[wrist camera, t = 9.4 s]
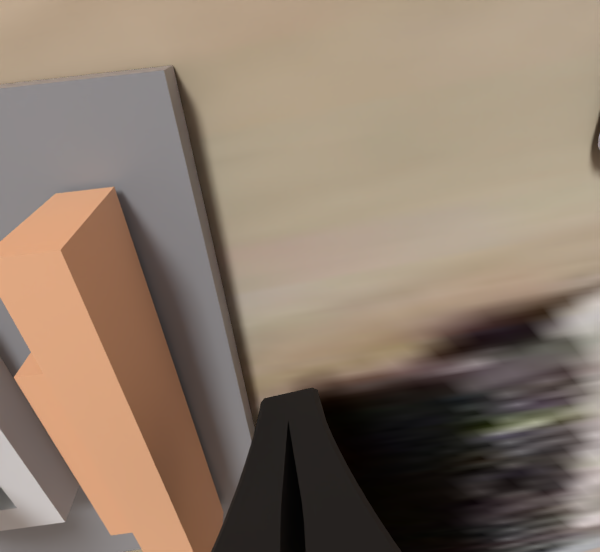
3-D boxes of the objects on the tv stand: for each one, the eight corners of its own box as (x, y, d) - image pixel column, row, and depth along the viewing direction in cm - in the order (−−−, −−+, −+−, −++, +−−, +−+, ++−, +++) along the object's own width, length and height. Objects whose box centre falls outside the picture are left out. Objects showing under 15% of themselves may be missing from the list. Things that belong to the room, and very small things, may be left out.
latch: (114, 186, 9) (60, 249, 6) (223, 512, 15) (217, 605, 13) (-5, 200, 9) (-103, 269, 6) (155, 521, 15) (136, 617, 13)
